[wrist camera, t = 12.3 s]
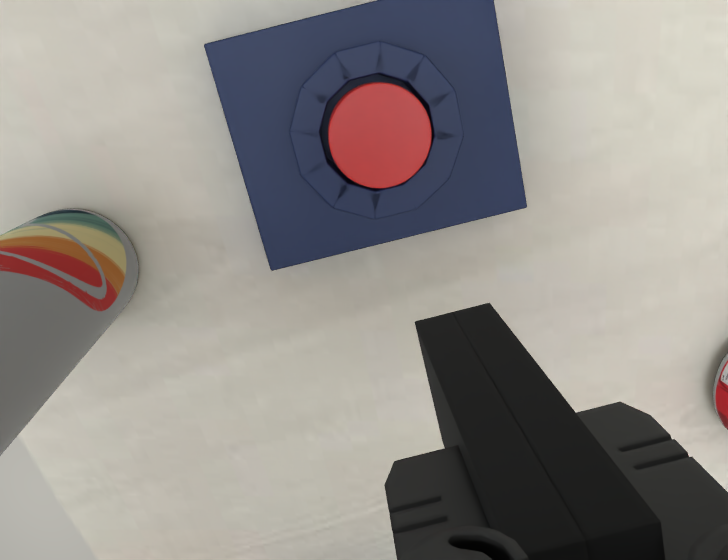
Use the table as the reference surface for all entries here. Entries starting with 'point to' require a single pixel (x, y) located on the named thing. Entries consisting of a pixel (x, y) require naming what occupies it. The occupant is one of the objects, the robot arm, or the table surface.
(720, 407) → the soda can
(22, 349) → the lotion bottle
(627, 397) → the table surface
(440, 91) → the button block
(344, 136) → the button
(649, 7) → the table surface
